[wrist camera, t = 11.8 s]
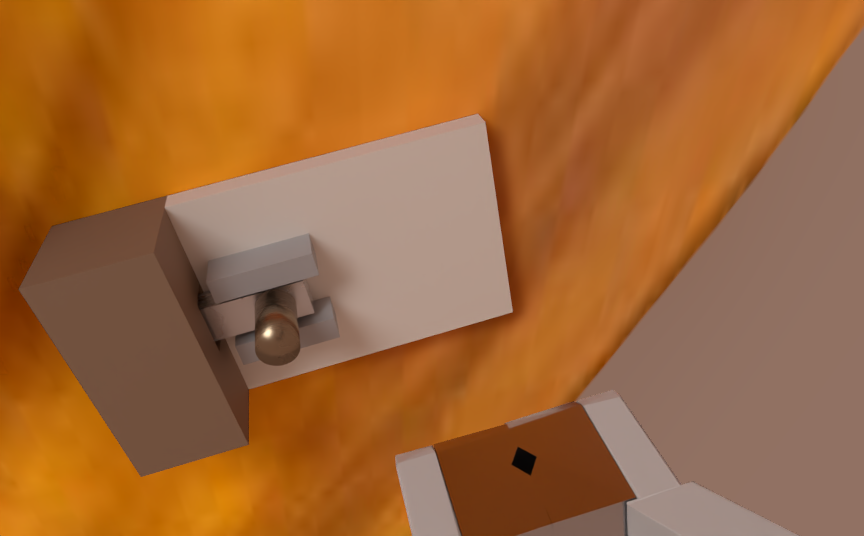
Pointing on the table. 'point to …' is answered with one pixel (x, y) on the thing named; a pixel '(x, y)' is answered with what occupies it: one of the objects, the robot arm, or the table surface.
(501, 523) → the robot arm
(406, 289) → the door plate
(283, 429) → the table surface
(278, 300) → the bolt
